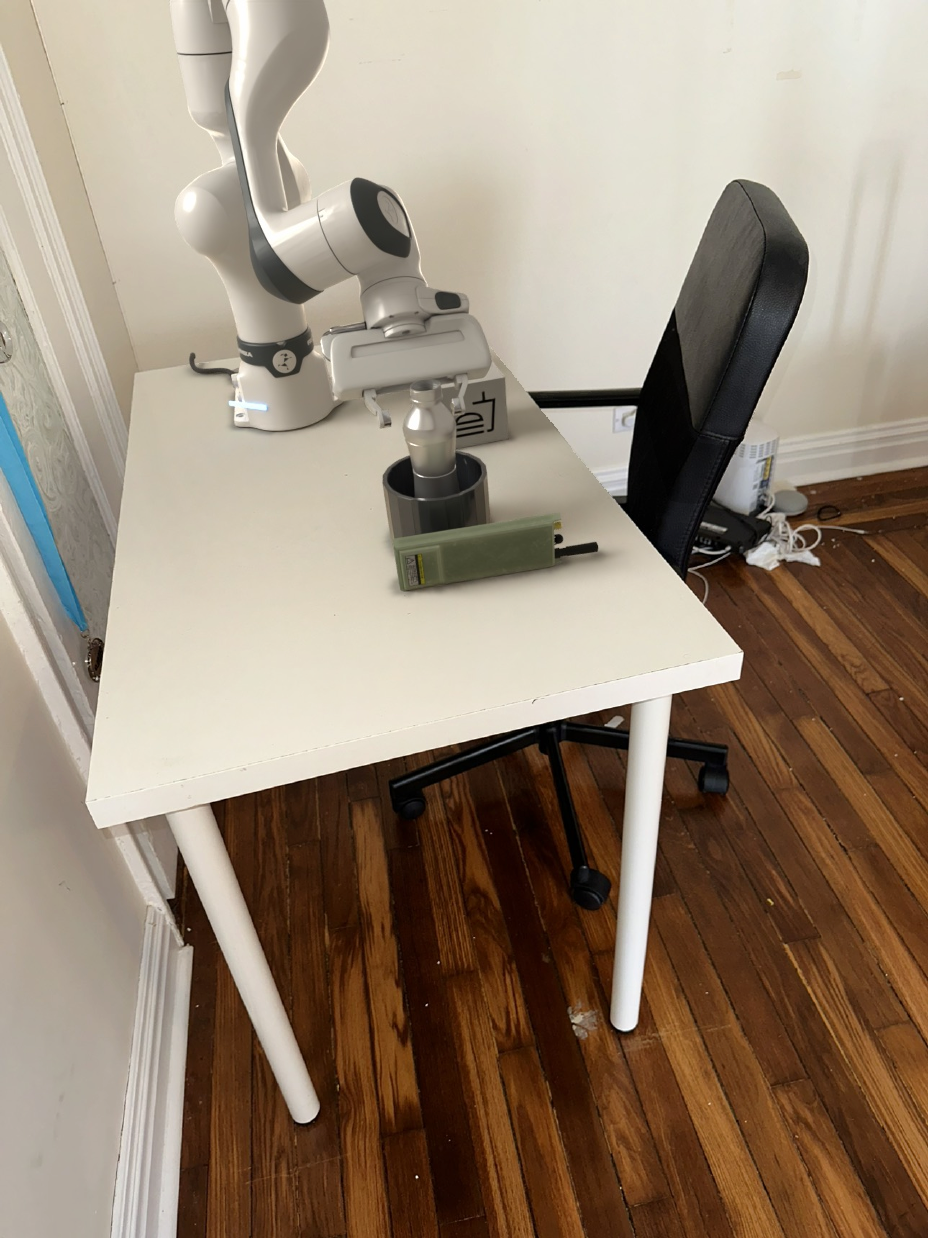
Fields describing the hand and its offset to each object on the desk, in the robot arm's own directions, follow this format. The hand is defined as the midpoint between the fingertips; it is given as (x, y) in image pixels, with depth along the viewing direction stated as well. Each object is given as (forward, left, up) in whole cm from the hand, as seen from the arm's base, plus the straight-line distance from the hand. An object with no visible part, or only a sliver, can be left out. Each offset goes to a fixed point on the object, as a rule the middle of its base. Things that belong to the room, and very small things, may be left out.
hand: (422, 419), depth 114 cm
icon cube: (-24, +14, -15) cm, 32 cm away
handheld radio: (+14, +3, -15) cm, 21 cm away
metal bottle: (+3, 0, -15) cm, 15 cm away
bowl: (+3, 0, -15) cm, 15 cm away
